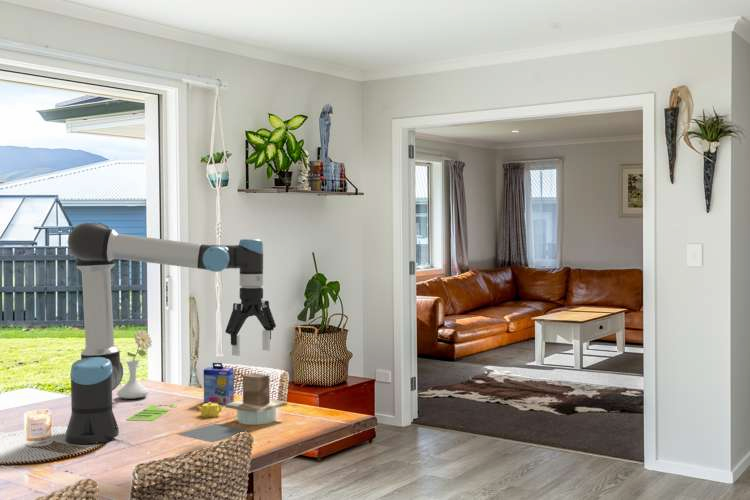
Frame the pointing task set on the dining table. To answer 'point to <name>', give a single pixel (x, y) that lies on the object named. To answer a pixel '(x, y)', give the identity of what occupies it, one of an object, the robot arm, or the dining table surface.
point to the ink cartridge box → (218, 384)
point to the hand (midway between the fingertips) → (251, 352)
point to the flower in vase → (133, 386)
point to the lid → (256, 395)
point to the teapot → (210, 409)
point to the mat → (213, 432)
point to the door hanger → (149, 414)
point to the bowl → (256, 417)
